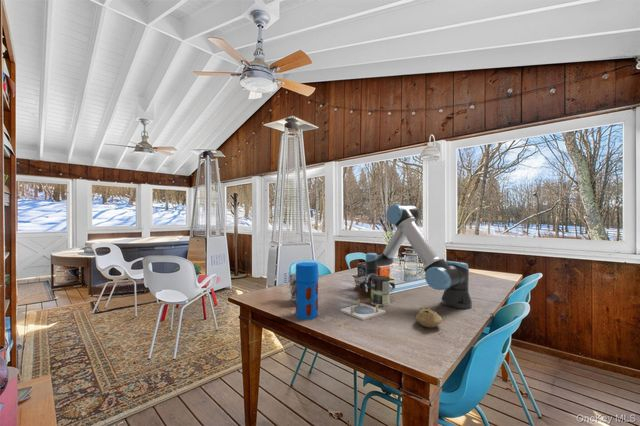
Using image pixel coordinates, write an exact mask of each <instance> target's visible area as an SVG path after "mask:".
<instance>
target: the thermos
mask: <svg viewBox="0 0 640 426" xmlns="http://www.w3.org/2000/svg"><path fill="white" fill-rule="evenodd" d="M295 274H296V300H295V314H296V315H295V317H296V318H297V319H299V318H300V319H299V320H303V319H310V320H314V318H315V319H317V318H318V316H319V264H318V263H316V262H312V261H310V262H309V261H307V262H306V261H305V262H298V263H296V264H295ZM316 317H317V318H316Z"/></svg>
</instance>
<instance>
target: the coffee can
mask: <svg viewBox="0 0 640 426" xmlns="http://www.w3.org/2000/svg"><path fill="white" fill-rule="evenodd" d="M390 280H391V278H390V277H389V276H386V275H377V276H372V277H371V287H370V304H371V305H373V306H376V305H378V307H379V306H380V307H383V306H389V305H390V290H389V289H390V283H391V281H390Z"/></svg>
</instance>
